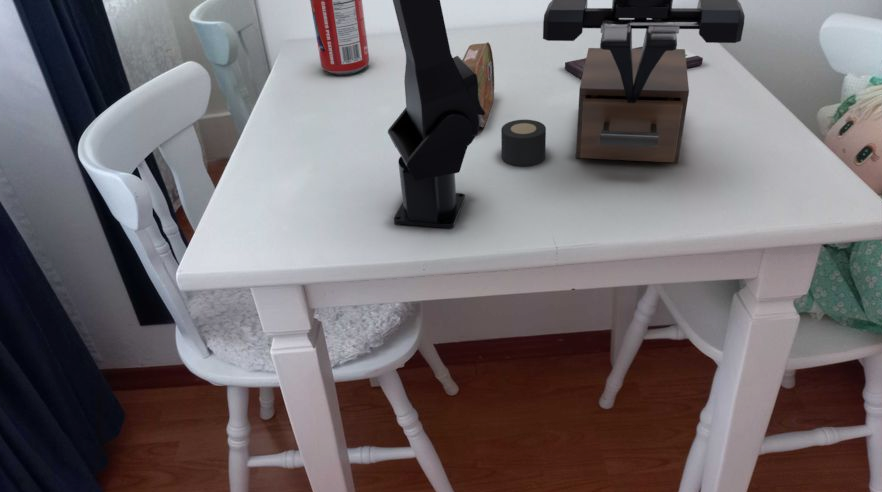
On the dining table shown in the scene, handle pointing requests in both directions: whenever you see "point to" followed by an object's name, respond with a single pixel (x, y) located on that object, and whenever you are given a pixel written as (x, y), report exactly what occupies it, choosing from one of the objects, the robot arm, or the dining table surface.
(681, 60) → the cabinet
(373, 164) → the dining table surface
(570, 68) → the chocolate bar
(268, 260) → the dining table surface
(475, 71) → the tin
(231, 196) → the dining table surface
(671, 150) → the drawer
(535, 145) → the tape
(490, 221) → the dining table surface
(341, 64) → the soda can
